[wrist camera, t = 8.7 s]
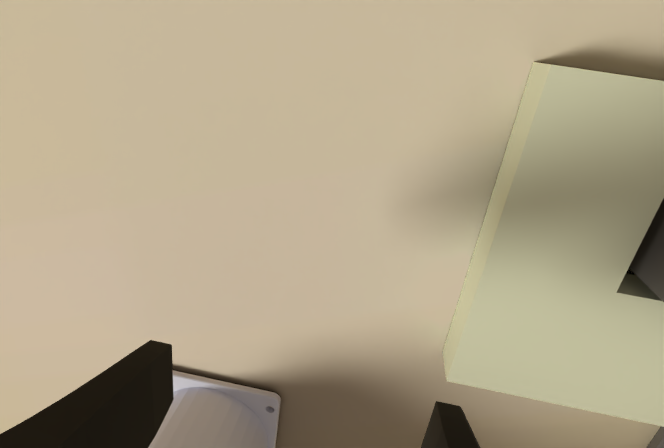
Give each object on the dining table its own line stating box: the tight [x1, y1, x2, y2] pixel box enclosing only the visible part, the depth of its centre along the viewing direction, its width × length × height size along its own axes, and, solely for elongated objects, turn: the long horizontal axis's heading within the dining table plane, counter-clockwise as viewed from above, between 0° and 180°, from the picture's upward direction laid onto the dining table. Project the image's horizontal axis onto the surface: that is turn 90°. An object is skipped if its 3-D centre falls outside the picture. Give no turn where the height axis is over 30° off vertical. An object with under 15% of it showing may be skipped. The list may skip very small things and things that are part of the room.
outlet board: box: [442, 62, 664, 427], centre depth 17 cm, size 14×14×2 cm
